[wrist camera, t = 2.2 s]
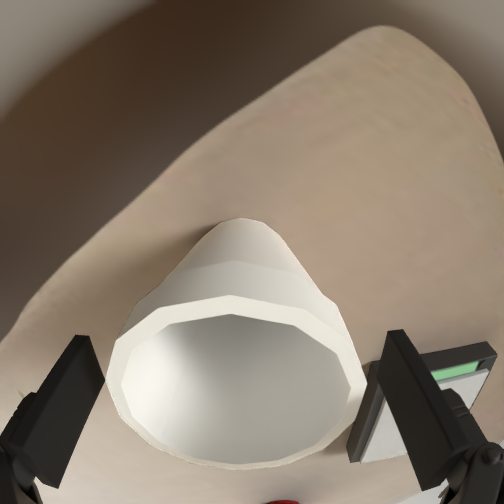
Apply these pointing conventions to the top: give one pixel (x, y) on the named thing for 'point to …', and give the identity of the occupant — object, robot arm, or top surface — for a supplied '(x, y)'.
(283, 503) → the plastic cup
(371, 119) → the top surface
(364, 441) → the scale
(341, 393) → the foam cup
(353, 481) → the top surface
